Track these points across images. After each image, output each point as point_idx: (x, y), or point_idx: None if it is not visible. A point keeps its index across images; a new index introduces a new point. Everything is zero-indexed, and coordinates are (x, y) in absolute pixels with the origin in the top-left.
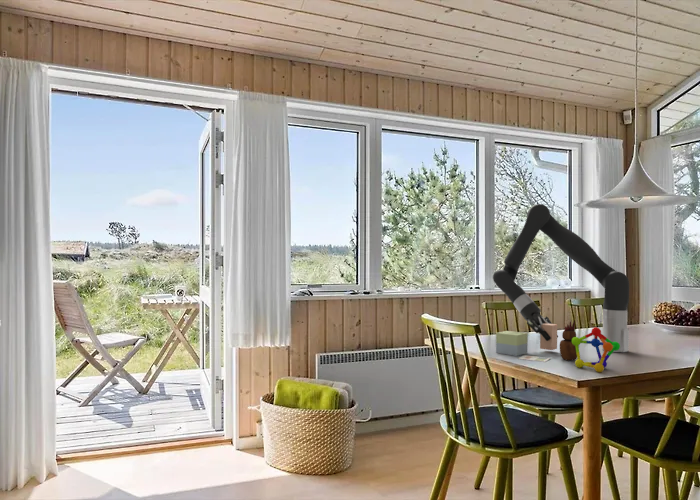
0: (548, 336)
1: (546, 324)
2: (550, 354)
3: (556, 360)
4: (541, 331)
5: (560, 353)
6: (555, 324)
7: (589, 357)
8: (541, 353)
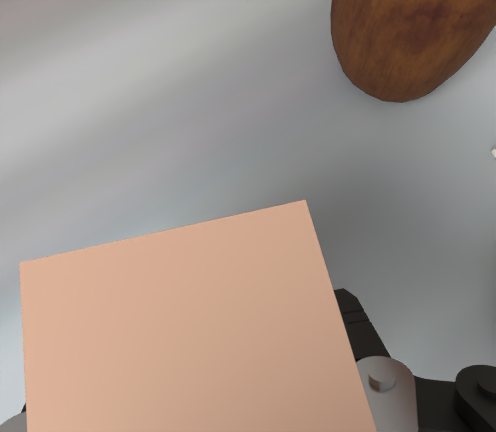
0: None
1: (275, 393)
2: (332, 278)
3: (493, 95)
4: (419, 392)
5: (457, 70)
6: (65, 280)
7: (156, 59)
8: None
